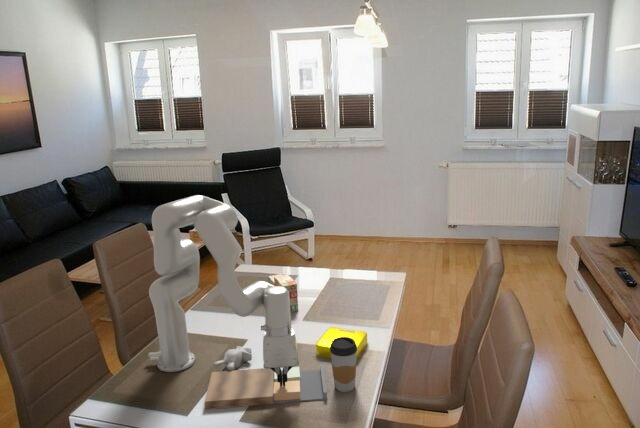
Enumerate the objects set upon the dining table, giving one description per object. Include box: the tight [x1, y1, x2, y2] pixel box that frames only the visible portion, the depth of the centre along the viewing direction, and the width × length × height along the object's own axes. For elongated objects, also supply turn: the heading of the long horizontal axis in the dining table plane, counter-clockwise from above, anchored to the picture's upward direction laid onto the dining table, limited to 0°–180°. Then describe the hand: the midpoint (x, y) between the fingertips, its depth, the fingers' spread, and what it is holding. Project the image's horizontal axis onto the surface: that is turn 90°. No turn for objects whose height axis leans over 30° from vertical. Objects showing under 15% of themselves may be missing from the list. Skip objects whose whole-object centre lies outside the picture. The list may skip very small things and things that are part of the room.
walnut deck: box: [204, 367, 274, 410], centre depth 161 cm, size 20×16×2 cm
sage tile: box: [274, 366, 301, 384], centre depth 165 cm, size 8×6×2 cm
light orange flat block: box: [273, 380, 301, 401], centre depth 157 cm, size 8×6×2 cm
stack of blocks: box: [268, 273, 299, 313], centre depth 223 cm, size 21×6×12 cm, turn 22°
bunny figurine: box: [213, 345, 253, 371], centre depth 176 cm, size 10×5×15 cm
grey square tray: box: [272, 363, 328, 405], centre depth 162 cm, size 16×16×2 cm
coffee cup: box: [330, 337, 357, 393], centre depth 159 cm, size 8×8×15 cm
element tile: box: [315, 326, 368, 361], centre depth 183 cm, size 15×15×5 cm
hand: (282, 383), depth 157 cm, fingers closed
